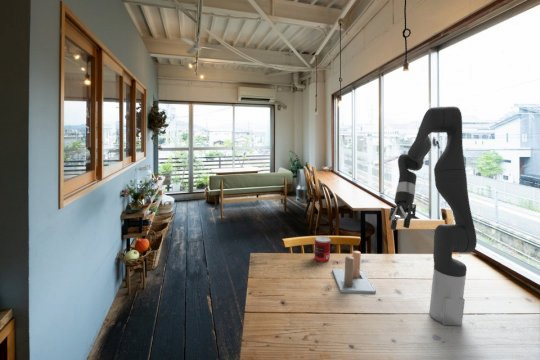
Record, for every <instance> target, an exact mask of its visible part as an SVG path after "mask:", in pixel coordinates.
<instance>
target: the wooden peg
mask: <svg viewBox="0 0 540 360" xmlns="http://www.w3.org/2000/svg"><path fill="white" fill-rule="evenodd" d="M361 254H362V253H361V251H359V250H352V255H351V257H354V269H353V279H360V270H361V256H362V255H361Z"/></svg>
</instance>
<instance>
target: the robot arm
mask: <svg viewBox="0 0 540 360" xmlns="http://www.w3.org/2000/svg"><path fill="white" fill-rule="evenodd" d="M462 116H463V115H462V112H461V109H460V108H459V107H458V106H454V105H453V106H433V107H430V108H428V109H427V110H426V112H425V114H424V115H423V117H422V120H421V123H420V125H419V128H418V130H417V134H416V136H415V140H414V141H413V143H412V144H411V146H410V147H409V149H408V151H407V152H406V153H401V154H400V155H399V157H397V158H398V159H397V167H398V173H399V178H398V183H397V187H396V191H395V197H394V202H393V203H395V205H396V206H395V208H394V207H391V208H390V212H389V216H388V221H391V223H390V230H391V231H392V230H393V231H396V230H397V227H398V226H397V224H398V221H399V220H400V219H401V218H402V217H404V218H403V223H402V224H403V226H402V227H403V228H406V229H409V228H410V225H411V224H410V223H411V220H412V219H413V218H416V210H417V204H415V203H414V202H415V195H416V183H417V178H418V177H417V174H416V173H414V171H415V172H417V171H420V170H421V169H422V168H423V165H424V161H425V157H426V156H427V154H428V153H429V152H430V151H431V148H432V141H431V138H430V134H432V133H433V134H438V133H439V134H440V133H441V134H443V133H446V144H445V145H446V146H445V148H444V150H443V151H442V152H441V155H440V156H439V157H438V159H437V161H436V163H435V165H434V169H433V173H434V184H435V187H436V190H437V192H438V193H439V195H440V196H441V197H442V198H443V199H444V201H445V202H446V203H447V204H448V206H449V207H450V210H451V212H452V214H453V218H454V223H455V224H451V223H450V224H449V223H447V224H445V223H443V224H438V225H437V226H436V228H435V230H434V233H433V234H434V235H433V255H432V256H433V273H432V280H431V281H432V283H431V289H430V290H431V293H430V301H429V302H430V303H429V315H430V316H431V318H432V319H434V320H435V321H437V322H438V323H440V324H442V326H463V320H464V319H463V318H464V308H465V298H464V295H465V285H466V279H467V277H466V276H467V266H466V265H465V263H463V262H462V261H460V260H458V259H456V258H453V253H462V254H463V253H465V254H468V253H473V252H475V250H476V248H477V243H478V242H477V239H478V238H477V232H476V228H475V225H474V224H475V223H474V220H473V216H472V212H471V211H472V210H471V205H470V204H471V203H470V197H469V192H468V191H469V190H468V180H467V171H466V164H465V158H464V157H465V156H464V149H463V148H464V146H463V118H462Z"/></svg>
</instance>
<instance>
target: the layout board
mask: <svg viewBox="0 0 540 360" xmlns="http://www.w3.org/2000/svg"><path fill="white" fill-rule="evenodd" d="M344 259H345V260H344V262H345V263H344V269H343V268H342V269H341V268H337V269H336V268H332V274H333V276H334V279H335V282H336V284H337V286H338V289H339V292H340V293H347V294H348V293H350V294H353V293H355V294H357V293H358V294H376V293H377V291H376V289H375V287H374V286H373V284H372V282H371V281H370V279H369V278H368V275H367V274H366V273H365V271H364V269H360V276H359V279H353V269H354V257H352V255H347V256H345V258H344Z"/></svg>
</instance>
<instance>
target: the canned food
mask: <svg viewBox="0 0 540 360" xmlns="http://www.w3.org/2000/svg"><path fill="white" fill-rule="evenodd" d="M330 256H331V238H330V237H328V236H324V235H319V236H315V239H314V259H315V260H316V261H317V262H319V263H327V262H329V261H330Z"/></svg>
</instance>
